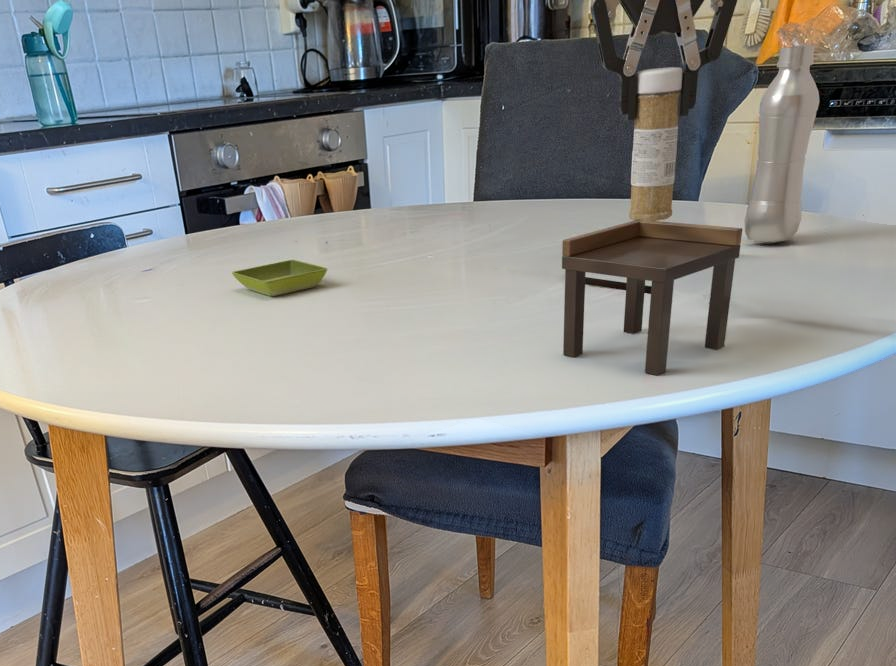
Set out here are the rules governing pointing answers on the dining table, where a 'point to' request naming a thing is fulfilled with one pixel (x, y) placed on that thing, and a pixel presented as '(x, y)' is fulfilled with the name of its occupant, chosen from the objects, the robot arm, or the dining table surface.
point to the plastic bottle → (783, 148)
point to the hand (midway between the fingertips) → (656, 117)
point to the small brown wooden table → (650, 277)
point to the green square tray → (281, 277)
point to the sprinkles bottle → (655, 143)
